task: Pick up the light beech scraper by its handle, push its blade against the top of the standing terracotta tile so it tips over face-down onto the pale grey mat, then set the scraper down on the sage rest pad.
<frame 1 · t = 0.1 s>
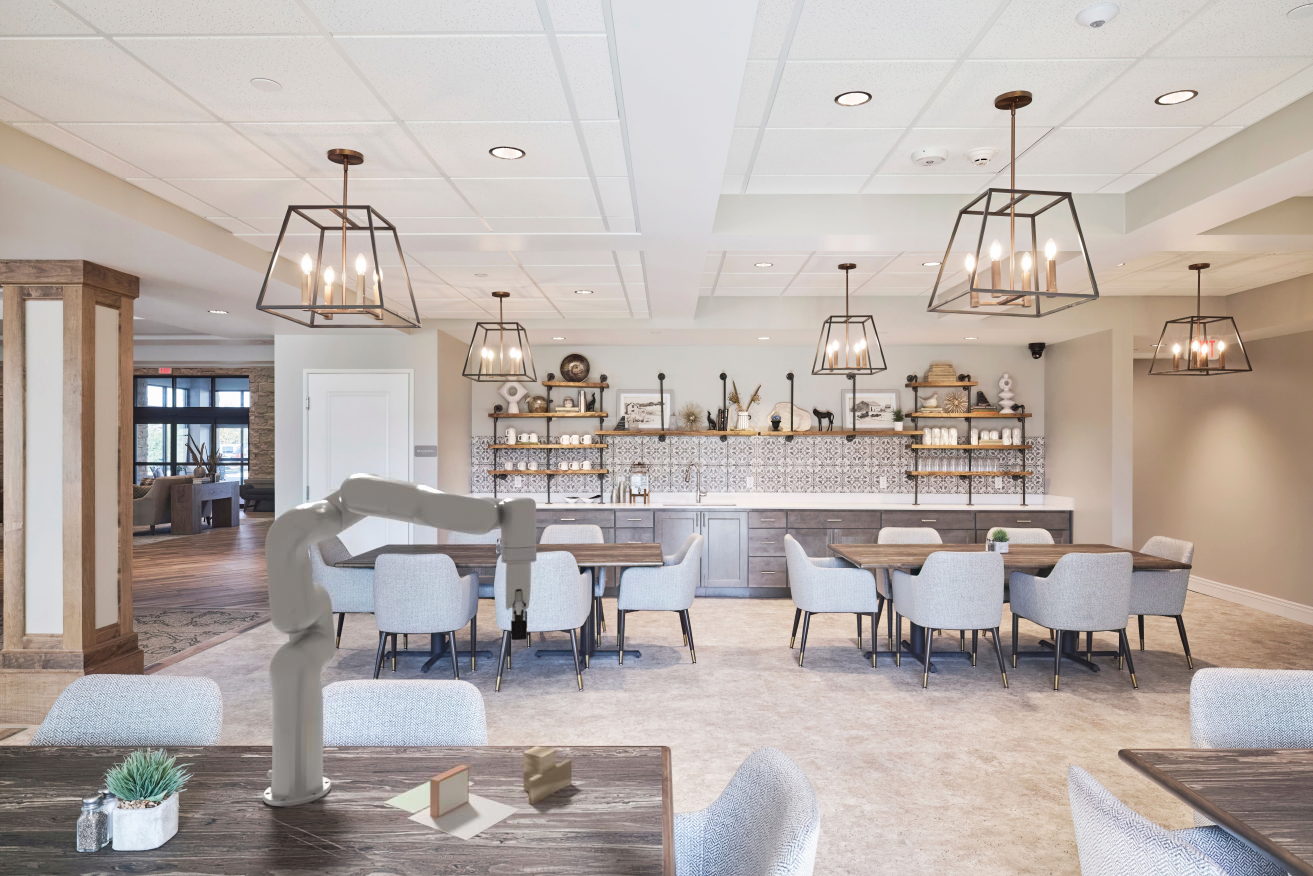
hand: (519, 634, 162), 31 cm above the table, tool pointing down, fingers open, 9 cm apart
rest pad: (430, 793, 154), on the table
scraper: (539, 790, 156), on the table
tile: (449, 808, 147), resting on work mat
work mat: (464, 815, 145), on the table
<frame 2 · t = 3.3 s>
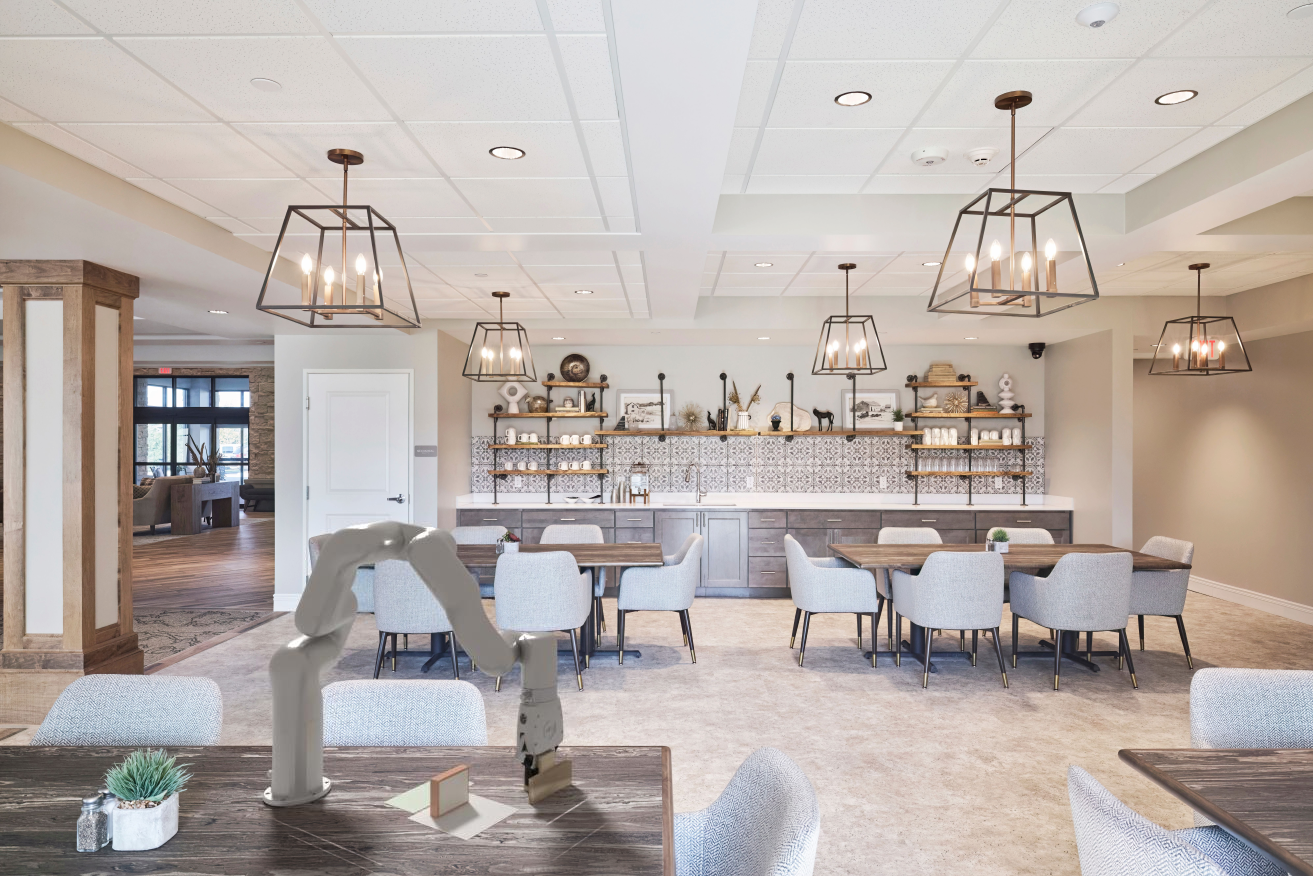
hand: (539, 781, 156), 2 cm above the table, tool pointing down, fingers closed on scraper, 4 cm apart
scraper: (539, 790, 156), on the table, touching gripper
everything else where it was.
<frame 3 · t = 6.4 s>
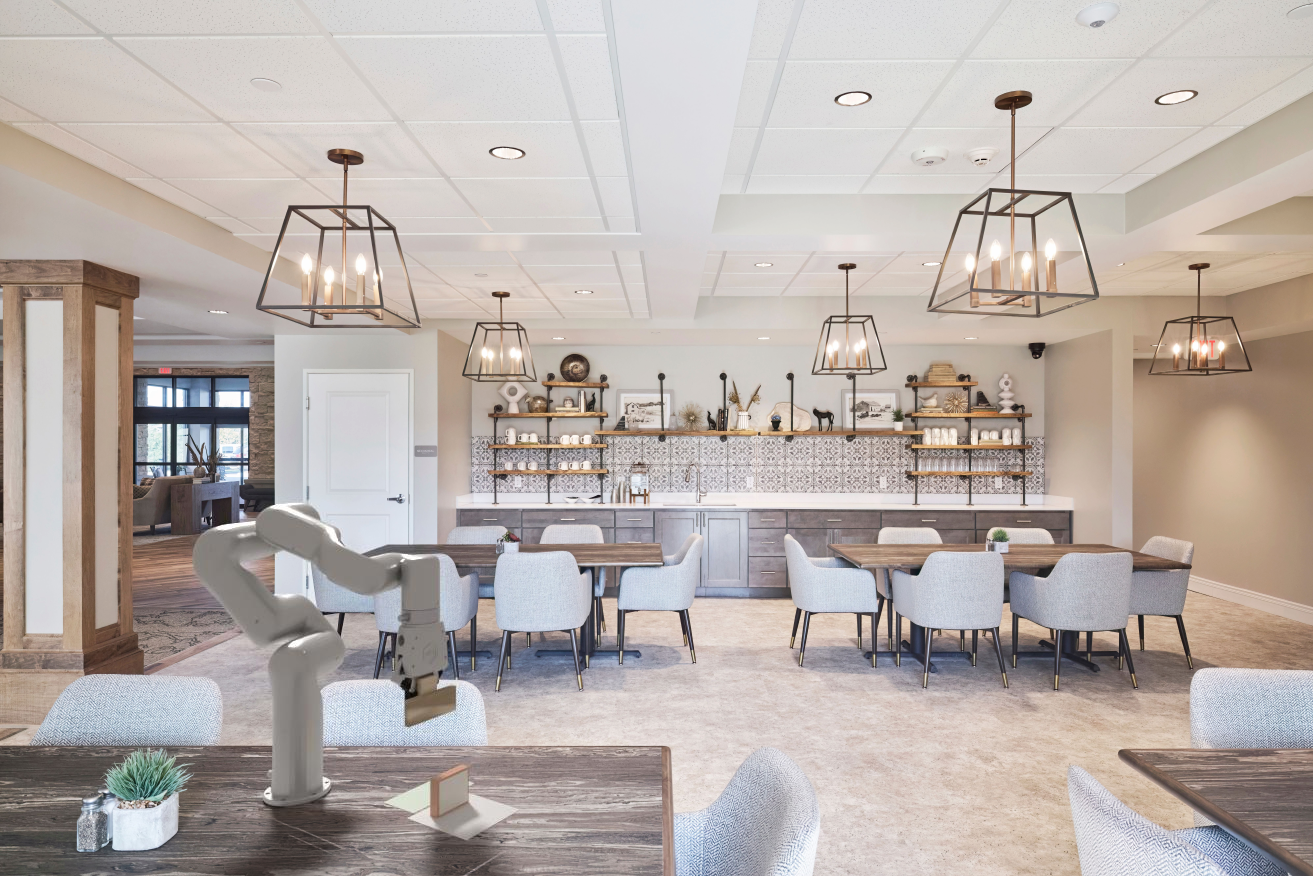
hand: (420, 706, 152), 19 cm above the table, tool pointing down, fingers closed on scraper, 4 cm apart
scraper: (420, 715, 152), point 17 cm above the table, touching gripper
everything else where it was.
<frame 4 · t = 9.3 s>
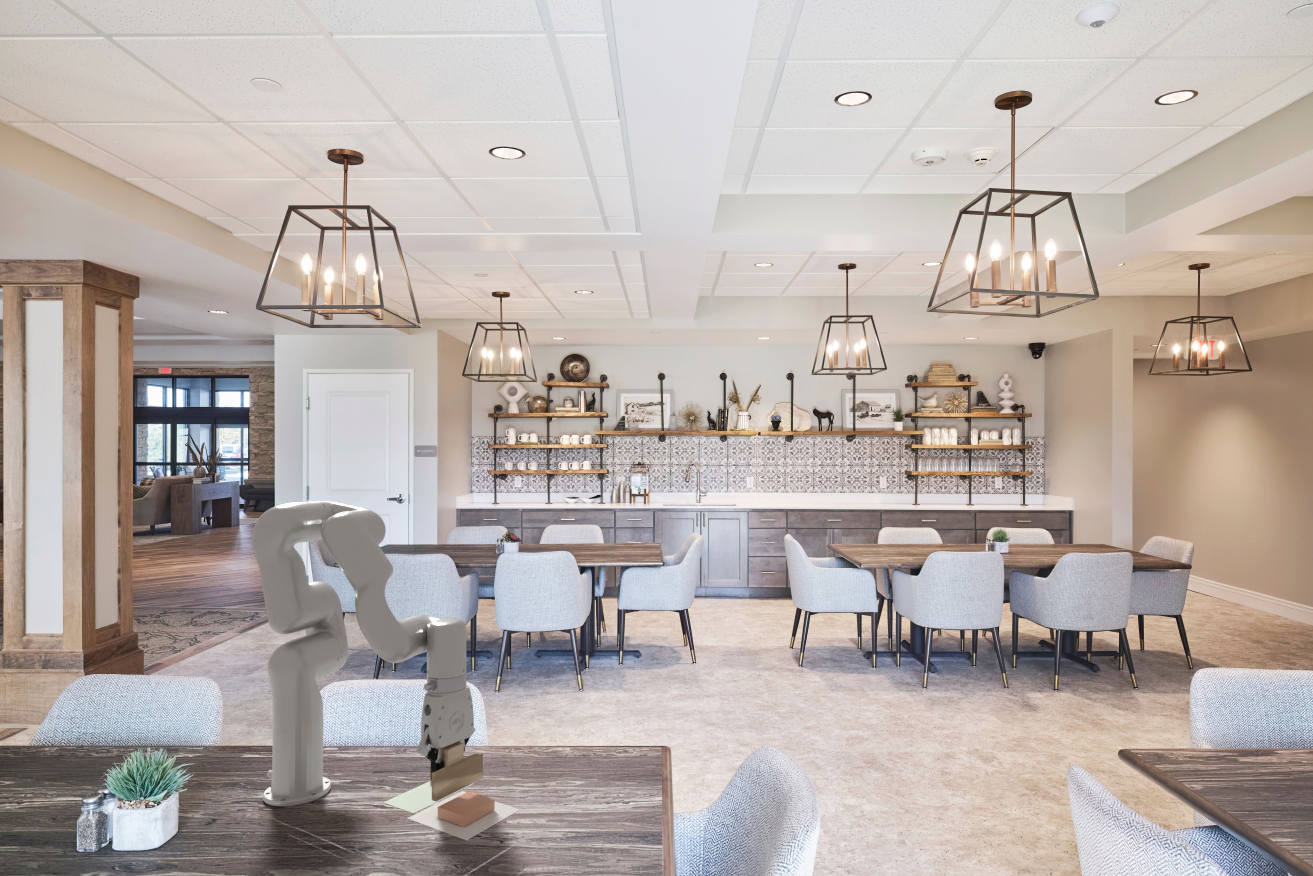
hand: (446, 776, 148), 6 cm above the table, tool pointing down, fingers closed on scraper, 4 cm apart
scraper: (446, 785, 148), point 5 cm above the table, touching gripper
tile: (453, 804, 146), point 1 cm above the table, tilted 90°, touching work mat
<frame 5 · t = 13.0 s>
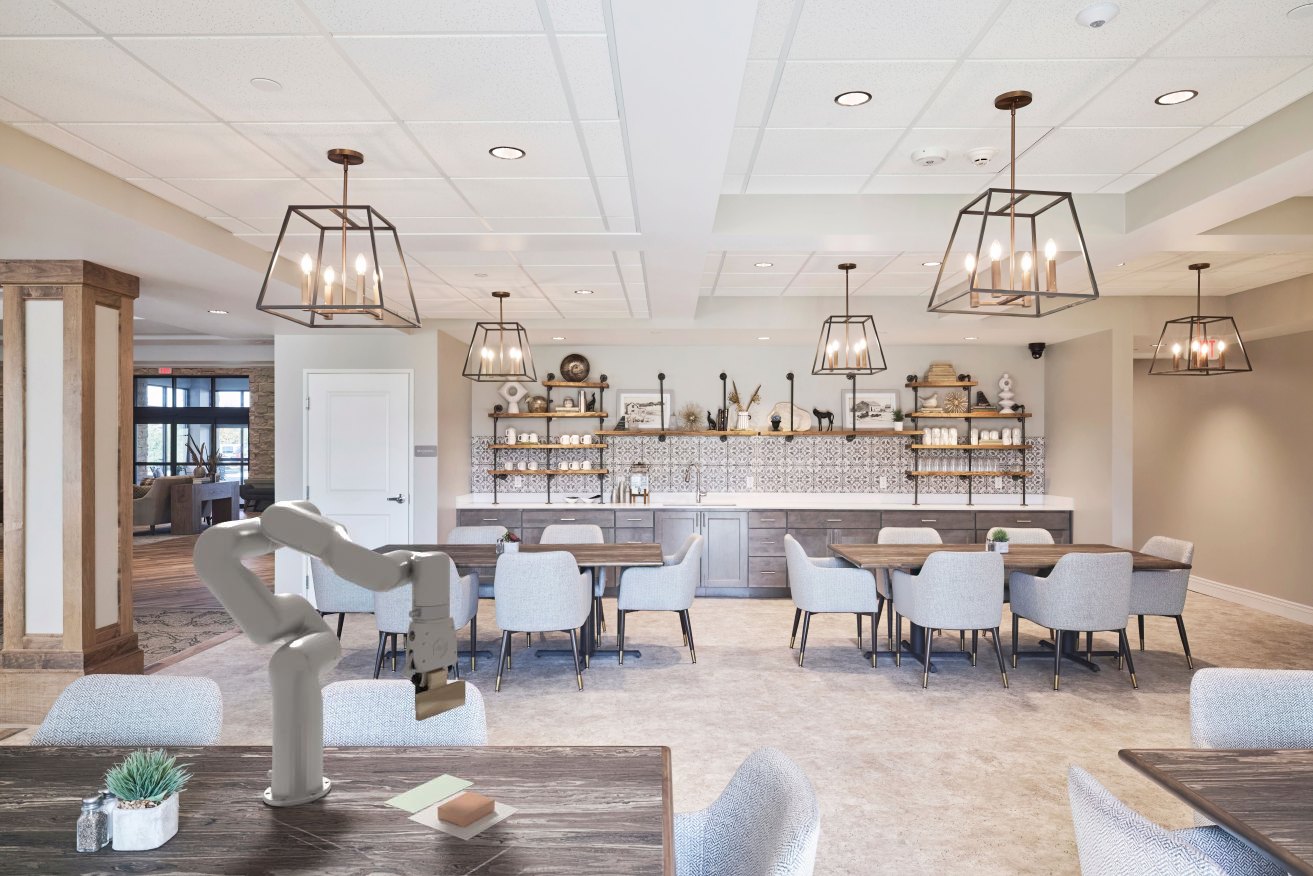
hand: (430, 700, 155), 19 cm above the table, tool pointing down, fingers closed on scraper, 4 cm apart
scraper: (430, 709, 155), point 17 cm above the table, touching gripper
everything else where it was.
when the fingers open (4 cm above the table, at t = 16.1 s): scraper drops 1 cm, resting on rest pad.
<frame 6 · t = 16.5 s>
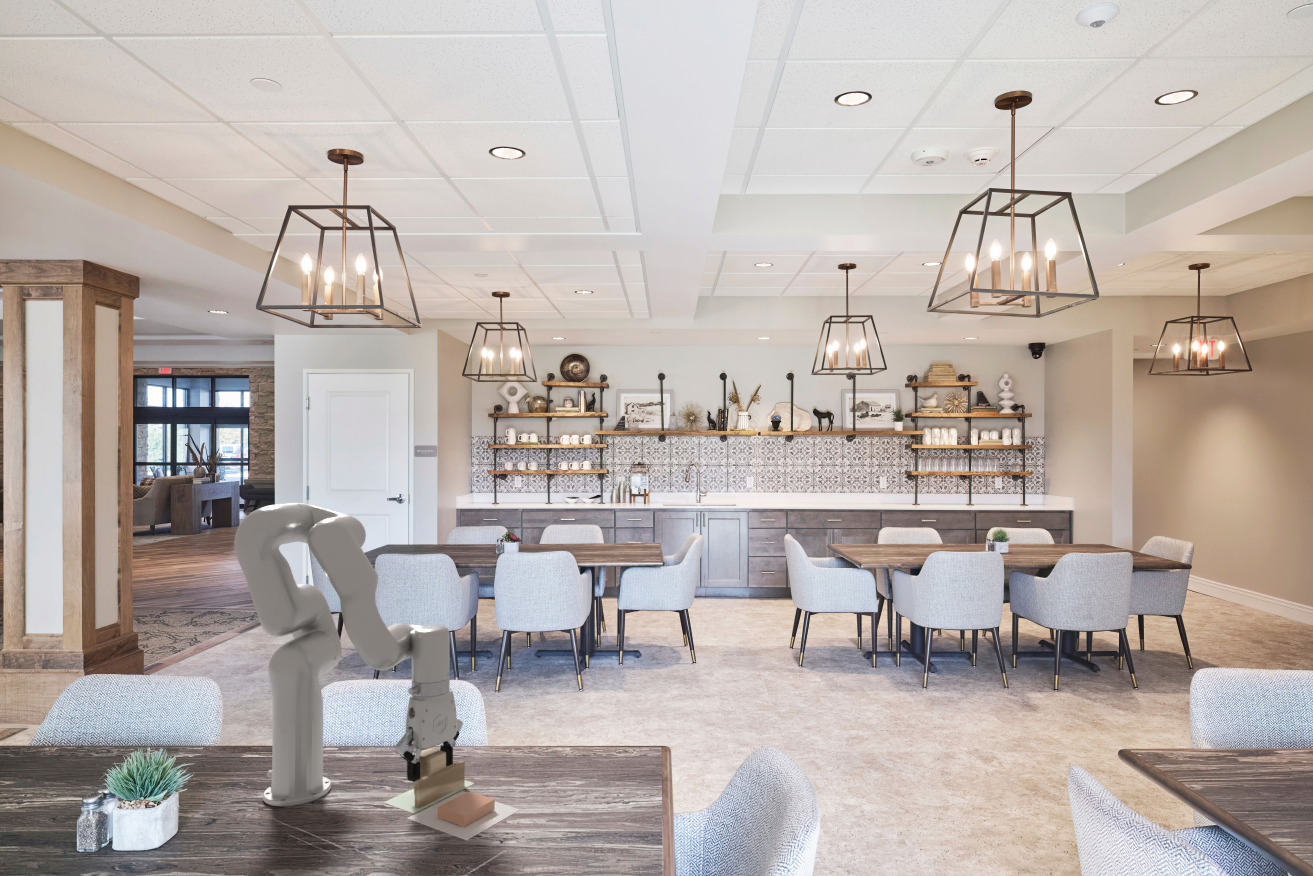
hand: (430, 772, 154), 4 cm above the table, tool pointing down, fingers open, 8 cm apart
scraper: (429, 792, 154), resting on rest pad
everything else where it was.
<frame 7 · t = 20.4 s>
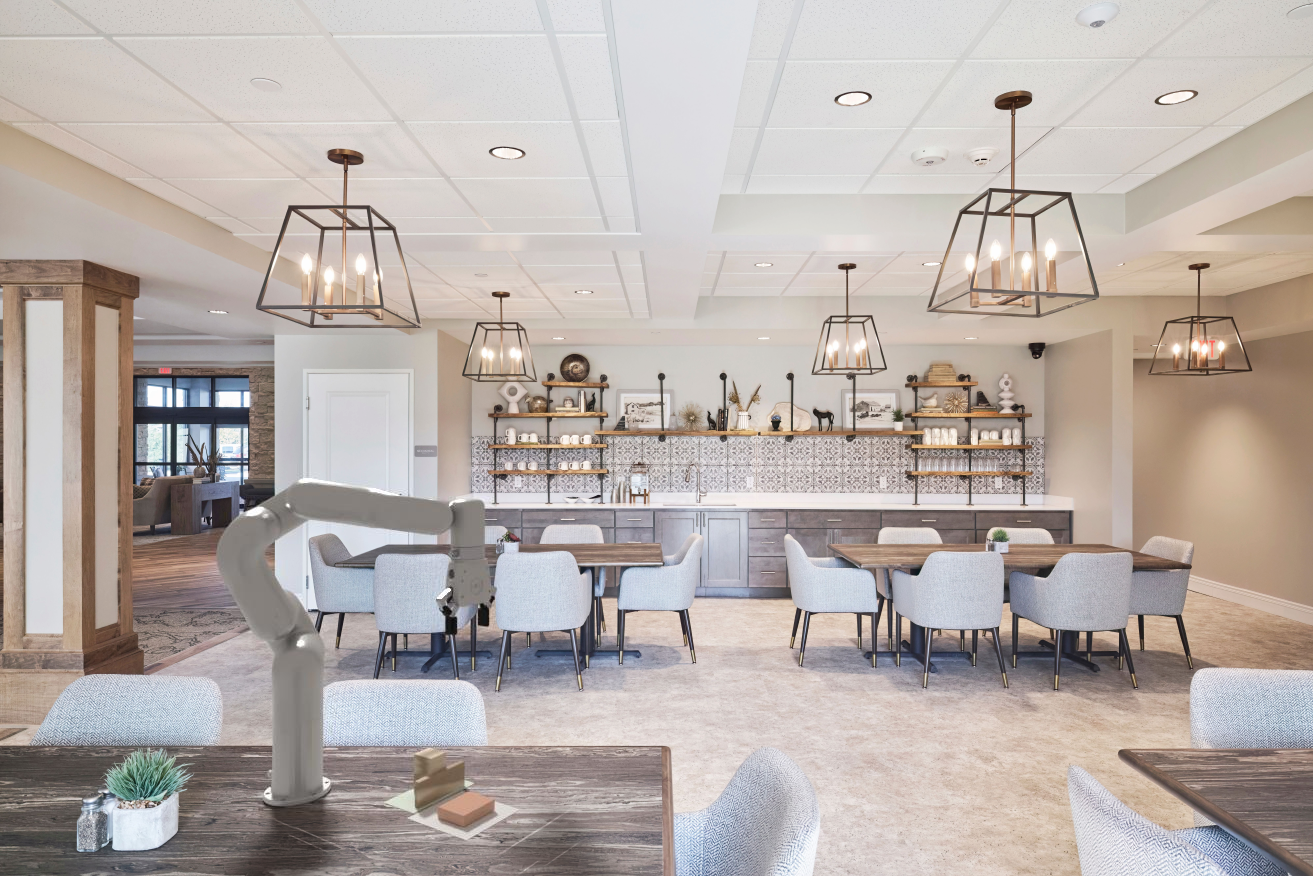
hand: (467, 630, 169), 30 cm above the table, tool pointing down, fingers open, 9 cm apart
nothing on the table moved.
at the end: tile tilted 90°; scraper inside the target area (0.4 cm from its centre), resting on rest pad; the gripper is holding nothing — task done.
